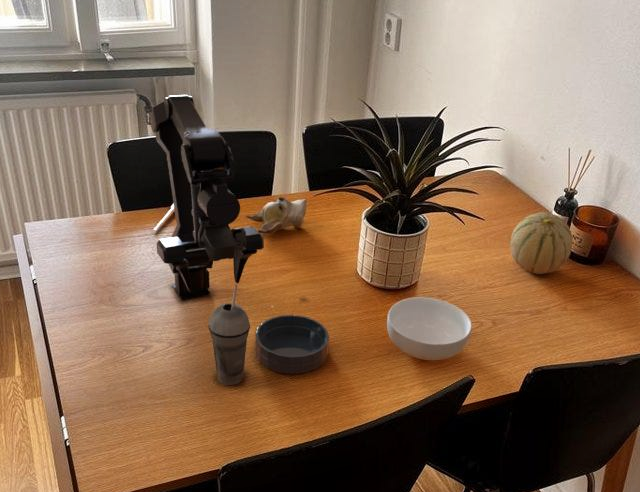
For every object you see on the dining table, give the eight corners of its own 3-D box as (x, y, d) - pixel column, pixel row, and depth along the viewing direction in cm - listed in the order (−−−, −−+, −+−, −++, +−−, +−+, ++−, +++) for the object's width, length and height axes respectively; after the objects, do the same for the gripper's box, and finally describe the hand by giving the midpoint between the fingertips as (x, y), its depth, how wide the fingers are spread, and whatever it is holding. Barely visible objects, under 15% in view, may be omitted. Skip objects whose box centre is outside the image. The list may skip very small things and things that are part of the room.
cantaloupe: (544, 252, 182) (558, 199, 174) (576, 281, 171) (593, 225, 162) (493, 257, 178) (505, 202, 169) (523, 287, 166) (537, 230, 158)
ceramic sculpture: (314, 201, 176) (257, 211, 171) (314, 232, 181) (259, 243, 176) (298, 185, 184) (243, 194, 179) (299, 215, 189) (245, 225, 184)
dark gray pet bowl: (272, 383, 129) (272, 363, 127) (244, 341, 140) (244, 323, 137) (339, 366, 135) (341, 347, 133) (308, 327, 145) (309, 309, 143)
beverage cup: (211, 365, 133) (208, 273, 121) (250, 365, 133) (251, 274, 122) (208, 389, 127) (205, 295, 115) (249, 390, 127) (249, 296, 116)
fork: (148, 232, 175) (147, 225, 174) (177, 200, 191) (177, 193, 190) (160, 234, 174) (160, 227, 173) (189, 202, 191) (188, 195, 190)
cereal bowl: (444, 384, 133) (450, 354, 129) (368, 352, 140) (372, 322, 136) (479, 343, 145) (485, 314, 142) (408, 315, 152) (412, 287, 148)
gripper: (168, 228, 115) (176, 313, 123) (274, 214, 123) (275, 294, 130) (152, 208, 124) (160, 288, 131) (251, 196, 132) (254, 272, 139)
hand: (213, 286), depth 133 cm, fingers open, 9 cm apart
